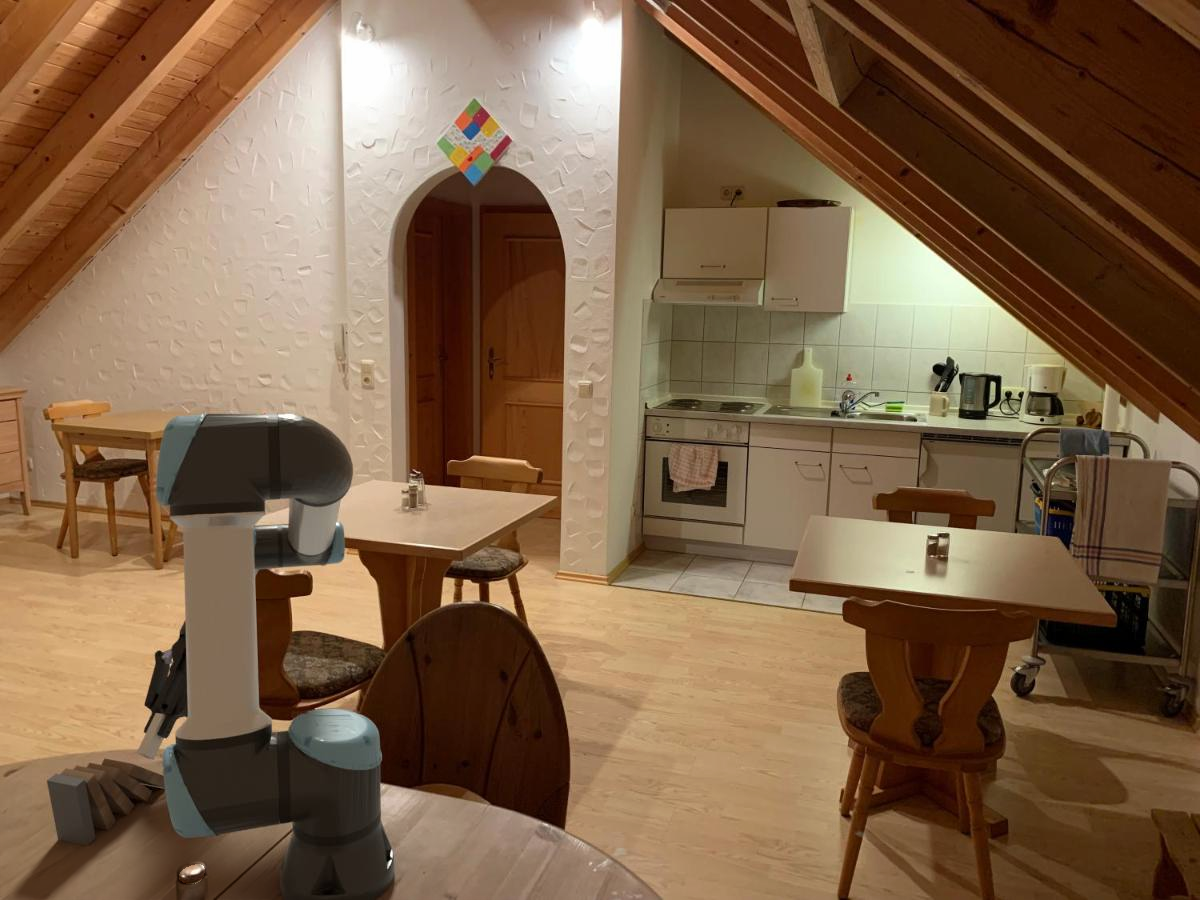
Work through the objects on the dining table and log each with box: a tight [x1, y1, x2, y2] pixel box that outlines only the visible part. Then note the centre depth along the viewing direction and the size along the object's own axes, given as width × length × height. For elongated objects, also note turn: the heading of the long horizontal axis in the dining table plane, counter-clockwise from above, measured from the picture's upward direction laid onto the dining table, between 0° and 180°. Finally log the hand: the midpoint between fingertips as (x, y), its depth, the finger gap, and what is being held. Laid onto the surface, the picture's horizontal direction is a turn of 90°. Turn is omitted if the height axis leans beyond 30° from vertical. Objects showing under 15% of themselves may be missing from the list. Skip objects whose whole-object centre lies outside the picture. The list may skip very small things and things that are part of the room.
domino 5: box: [101, 758, 165, 789], centre depth 141 cm, size 2×5×10 cm
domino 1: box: [46, 773, 96, 847], centre depth 130 cm, size 2×5×10 cm, turn 76°
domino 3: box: [73, 765, 135, 816], centre depth 135 cm, size 2×5×10 cm
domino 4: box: [86, 762, 152, 802], centre depth 138 cm, size 2×5×10 cm
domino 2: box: [59, 767, 116, 831], centre depth 132 cm, size 2×5×10 cm, turn 75°
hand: (145, 756), depth 144 cm, fingers closed
